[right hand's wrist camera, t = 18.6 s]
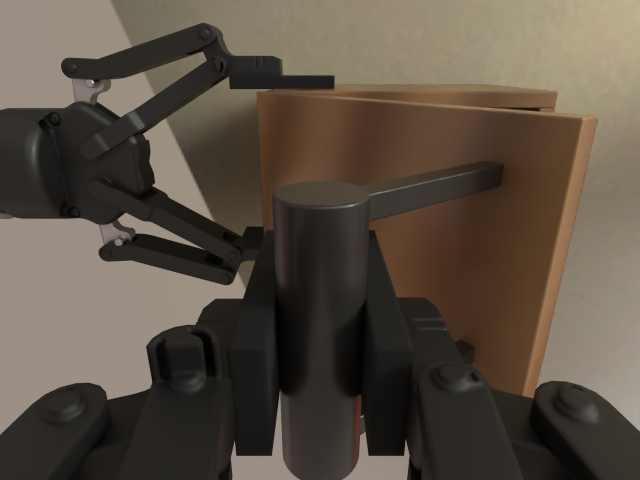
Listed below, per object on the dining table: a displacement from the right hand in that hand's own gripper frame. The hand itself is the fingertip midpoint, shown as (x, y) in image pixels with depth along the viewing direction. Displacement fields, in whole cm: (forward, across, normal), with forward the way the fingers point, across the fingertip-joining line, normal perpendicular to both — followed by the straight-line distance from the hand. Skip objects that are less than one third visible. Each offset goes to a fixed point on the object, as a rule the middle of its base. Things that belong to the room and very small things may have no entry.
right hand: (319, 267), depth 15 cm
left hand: (+17, +1, 0) cm, 17 cm away
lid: (+5, +2, 0) cm, 6 cm away
